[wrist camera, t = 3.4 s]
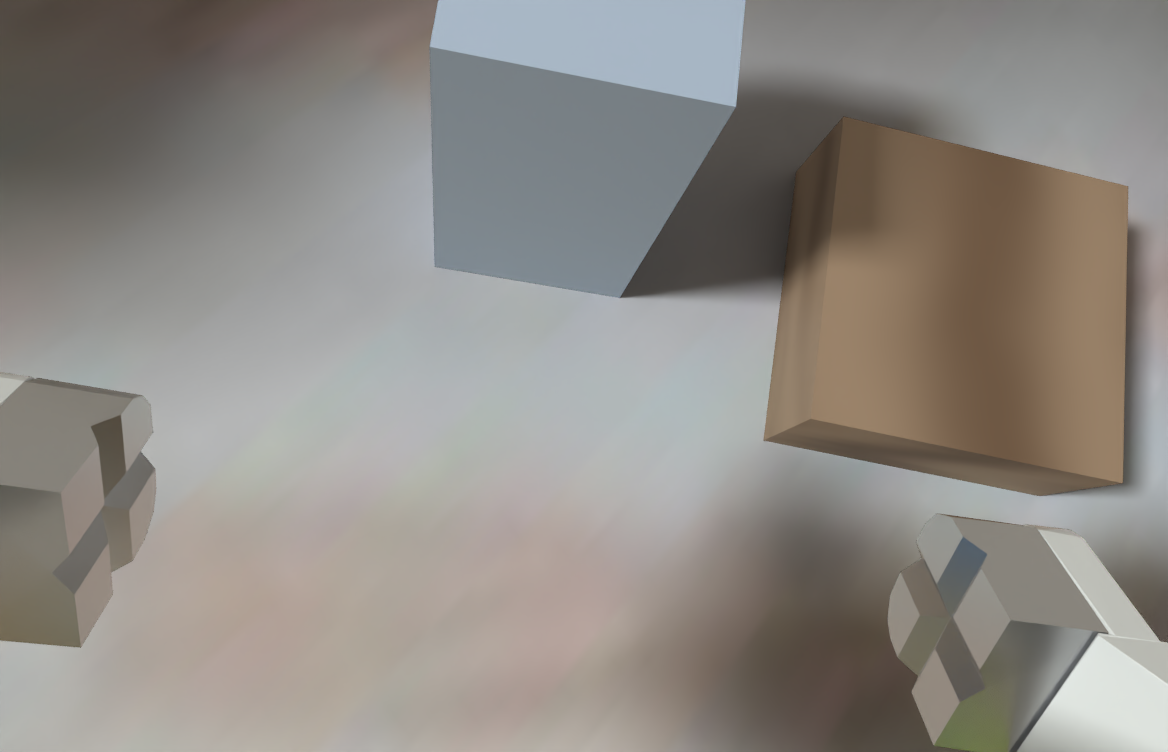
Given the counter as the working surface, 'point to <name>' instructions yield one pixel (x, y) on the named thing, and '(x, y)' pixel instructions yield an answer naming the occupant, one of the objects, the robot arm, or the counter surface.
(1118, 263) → the walnut block
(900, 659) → the robot arm
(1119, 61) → the counter surface
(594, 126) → the slate-blue painted block
